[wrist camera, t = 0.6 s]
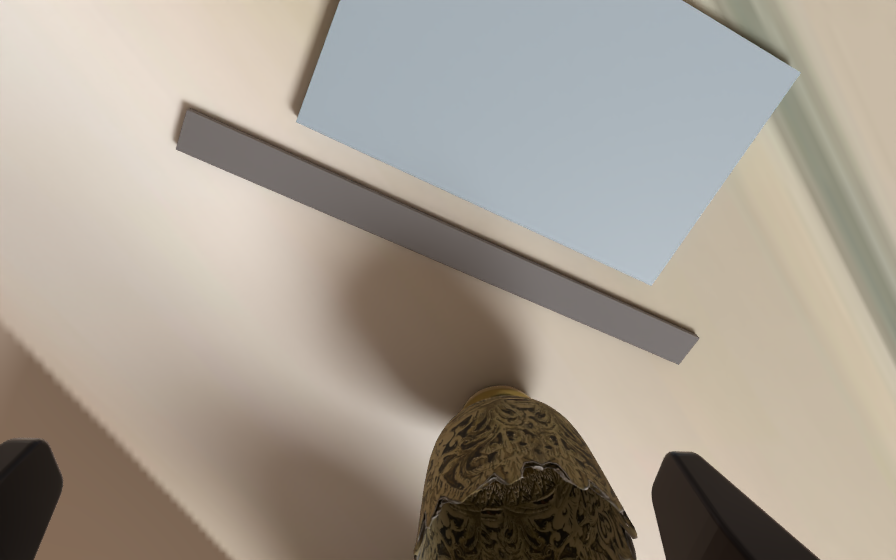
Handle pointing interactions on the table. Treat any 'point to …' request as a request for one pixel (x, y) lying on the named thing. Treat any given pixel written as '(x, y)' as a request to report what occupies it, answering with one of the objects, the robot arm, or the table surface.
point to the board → (552, 111)
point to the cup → (517, 488)
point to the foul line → (426, 235)
